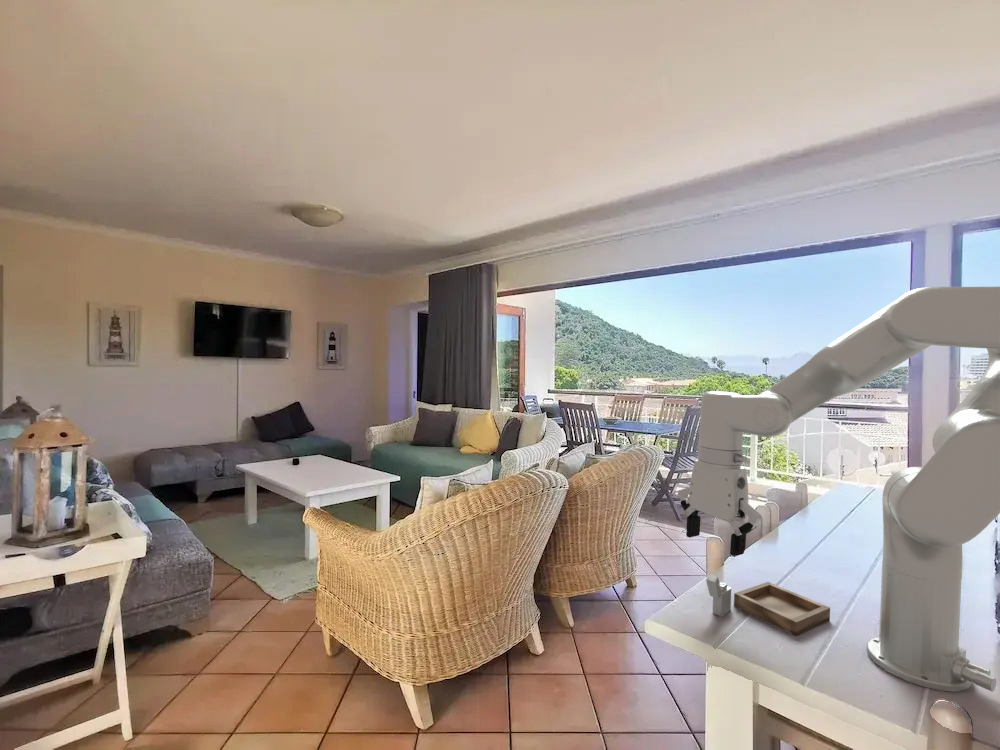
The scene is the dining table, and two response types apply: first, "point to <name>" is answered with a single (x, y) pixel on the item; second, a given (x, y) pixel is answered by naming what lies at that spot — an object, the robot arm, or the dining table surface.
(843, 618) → the dining table surface
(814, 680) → the dining table surface
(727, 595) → the lighter
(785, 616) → the tray
